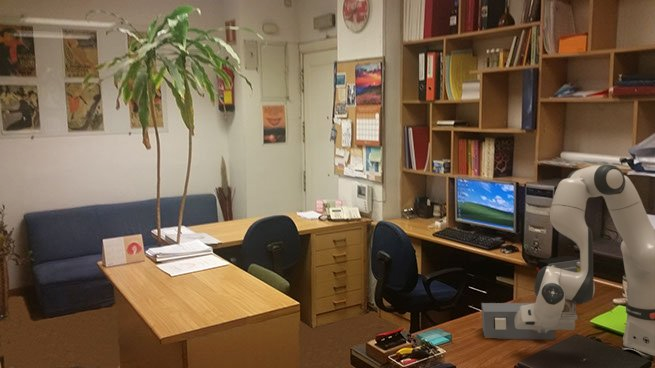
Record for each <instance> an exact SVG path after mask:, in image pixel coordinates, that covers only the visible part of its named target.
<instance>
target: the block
mask: <svg viewBox="0 0 655 368" xmlns="http://www.w3.org/2000/svg"><path fill="white" fill-rule="evenodd" d="M533 303H534V302H500V303H499V302H497V303H496V302H489V303H488V302H486V303H485V302H481V322H482V323H481V324H482V325H481V327H482V328H483V329H482V333H483V332H484V333H483V337H484V336H485V337H487V338H488V337H490V338H498V339H497V340H556V330H549V331H547V333H538V331H534V329H516V328H515V322H514V319H515V316H516V314H517V312H518V311H520V306H522V305H528V304H533ZM494 317H505V318H506V330H500V329H495V326H494ZM485 337H484V338H485Z"/></svg>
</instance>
